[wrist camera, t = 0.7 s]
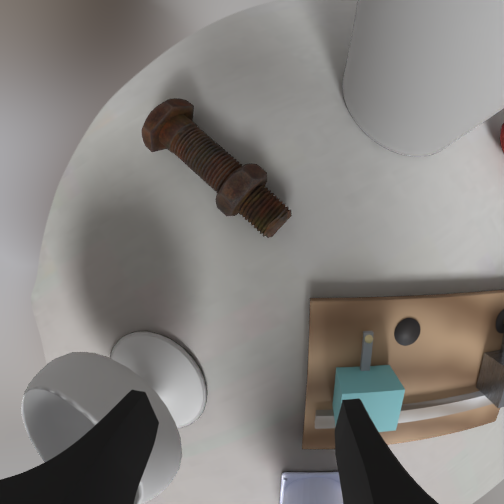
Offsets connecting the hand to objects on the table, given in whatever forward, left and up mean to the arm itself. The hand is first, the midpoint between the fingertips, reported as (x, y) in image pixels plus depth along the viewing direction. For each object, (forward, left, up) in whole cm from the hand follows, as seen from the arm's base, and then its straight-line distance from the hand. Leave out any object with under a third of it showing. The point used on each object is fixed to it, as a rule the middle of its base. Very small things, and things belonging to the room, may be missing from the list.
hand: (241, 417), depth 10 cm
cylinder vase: (+20, -13, -18) cm, 30 cm away
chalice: (-9, +13, -18) cm, 24 cm away
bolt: (+13, +5, -18) cm, 22 cm away
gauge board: (-7, -15, -17) cm, 24 cm away
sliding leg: (-5, -8, -16) cm, 18 cm away
